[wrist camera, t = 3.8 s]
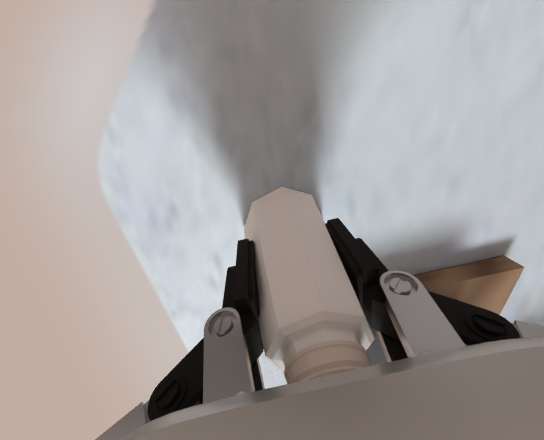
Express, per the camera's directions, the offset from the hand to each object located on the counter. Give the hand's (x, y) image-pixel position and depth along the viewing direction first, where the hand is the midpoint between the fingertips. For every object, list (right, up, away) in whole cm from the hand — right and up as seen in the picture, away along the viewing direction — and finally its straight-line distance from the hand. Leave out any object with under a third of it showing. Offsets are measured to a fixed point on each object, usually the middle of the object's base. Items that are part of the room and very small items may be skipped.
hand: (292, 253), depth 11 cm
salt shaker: (0, +2, +3) cm, 3 cm away
